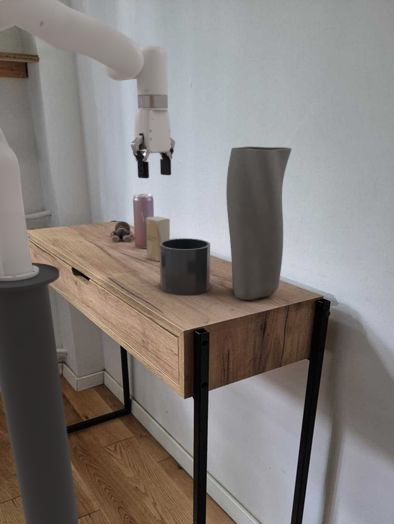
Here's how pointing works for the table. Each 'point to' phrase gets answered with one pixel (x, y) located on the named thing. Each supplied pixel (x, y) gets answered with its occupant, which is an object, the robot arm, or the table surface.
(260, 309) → the table surface
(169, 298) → the table surface
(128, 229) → the figurine
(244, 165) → the vase
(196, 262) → the cup
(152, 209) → the beverage can
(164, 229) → the box
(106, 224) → the table surface
